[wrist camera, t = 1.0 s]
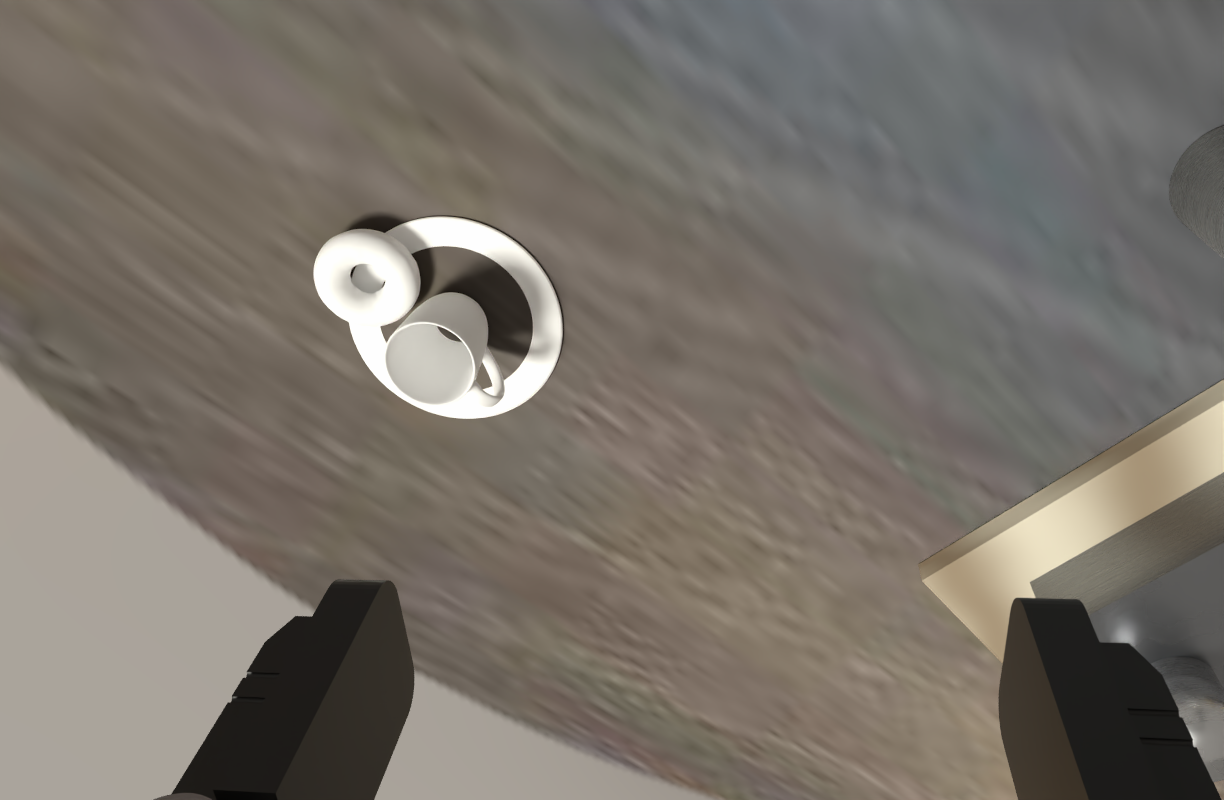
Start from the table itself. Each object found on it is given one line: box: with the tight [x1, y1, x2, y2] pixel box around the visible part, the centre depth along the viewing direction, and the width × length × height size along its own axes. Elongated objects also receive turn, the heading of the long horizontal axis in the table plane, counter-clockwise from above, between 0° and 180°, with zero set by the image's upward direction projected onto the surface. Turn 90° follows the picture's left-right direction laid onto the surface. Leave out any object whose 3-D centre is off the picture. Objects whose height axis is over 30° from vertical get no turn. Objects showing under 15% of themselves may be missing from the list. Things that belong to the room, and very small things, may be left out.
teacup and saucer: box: [314, 216, 563, 419], centre depth 36 cm, size 9×8×4 cm
